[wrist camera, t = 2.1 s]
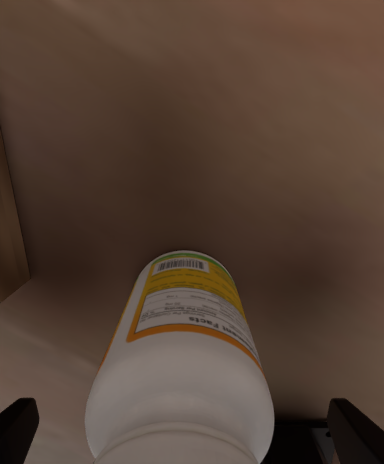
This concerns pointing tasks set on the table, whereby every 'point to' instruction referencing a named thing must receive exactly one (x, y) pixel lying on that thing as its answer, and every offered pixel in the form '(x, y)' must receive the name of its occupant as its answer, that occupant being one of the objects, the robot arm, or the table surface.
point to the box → (10, 236)
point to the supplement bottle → (181, 373)
